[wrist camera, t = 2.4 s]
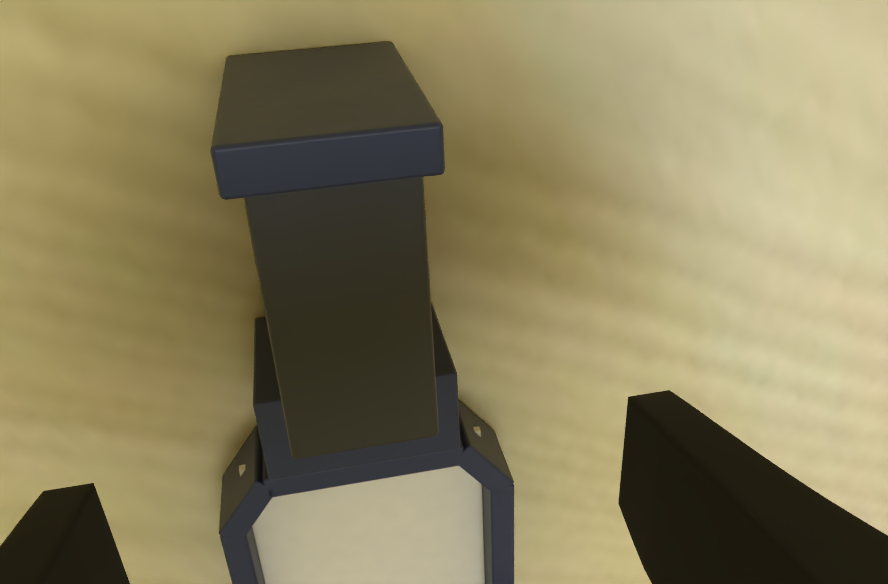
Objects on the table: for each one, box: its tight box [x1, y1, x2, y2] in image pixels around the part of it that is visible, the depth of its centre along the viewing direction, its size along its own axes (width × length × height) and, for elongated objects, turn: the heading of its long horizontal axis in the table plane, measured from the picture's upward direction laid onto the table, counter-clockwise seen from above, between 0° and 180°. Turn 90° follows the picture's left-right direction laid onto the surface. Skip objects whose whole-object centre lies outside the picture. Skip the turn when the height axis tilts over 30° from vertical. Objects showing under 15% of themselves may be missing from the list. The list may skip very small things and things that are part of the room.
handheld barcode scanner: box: [211, 42, 514, 584], centre depth 17 cm, size 17×7×5 cm, turn 3°
